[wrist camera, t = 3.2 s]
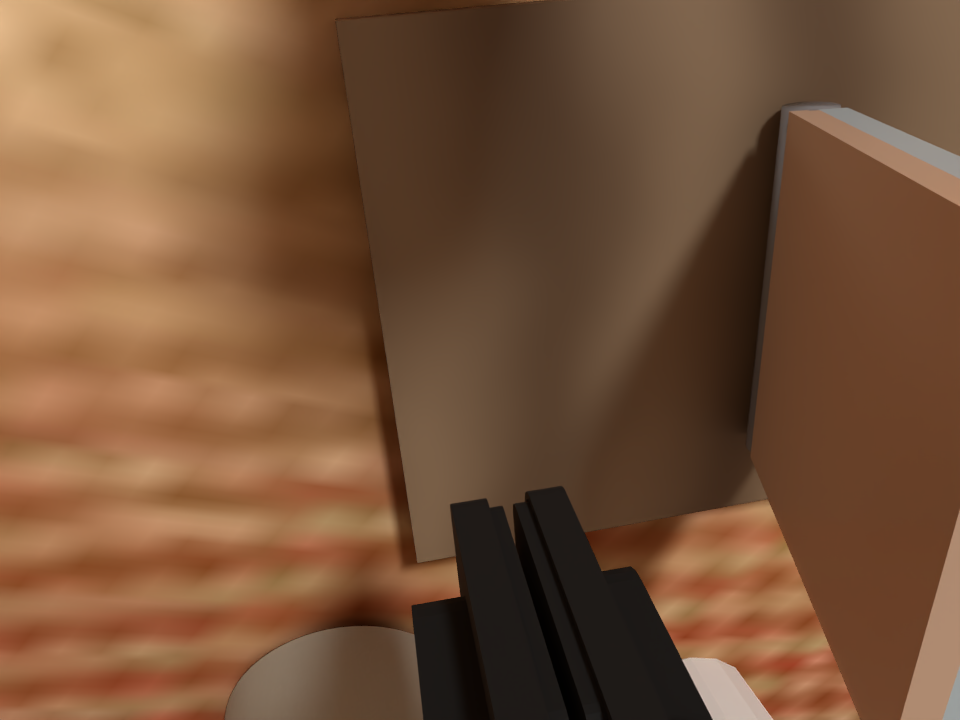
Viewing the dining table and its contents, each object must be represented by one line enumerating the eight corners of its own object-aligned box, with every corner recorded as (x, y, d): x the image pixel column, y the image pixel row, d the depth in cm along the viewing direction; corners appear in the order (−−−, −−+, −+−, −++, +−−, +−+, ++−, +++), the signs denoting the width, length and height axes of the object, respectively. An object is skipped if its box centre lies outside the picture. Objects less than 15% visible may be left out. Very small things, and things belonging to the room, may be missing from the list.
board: (412, 529, 22) (417, 563, 21) (335, 19, 16) (335, 21, 14) (1004, 424, 25) (1042, 448, 23) (1146, -54, 18) (1210, -58, 17)
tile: (884, 777, 12) (962, 779, 12) (1033, 247, 8) (1156, 242, 8) (741, 434, 21) (784, 433, 21) (775, 103, 17) (830, 99, 17)
